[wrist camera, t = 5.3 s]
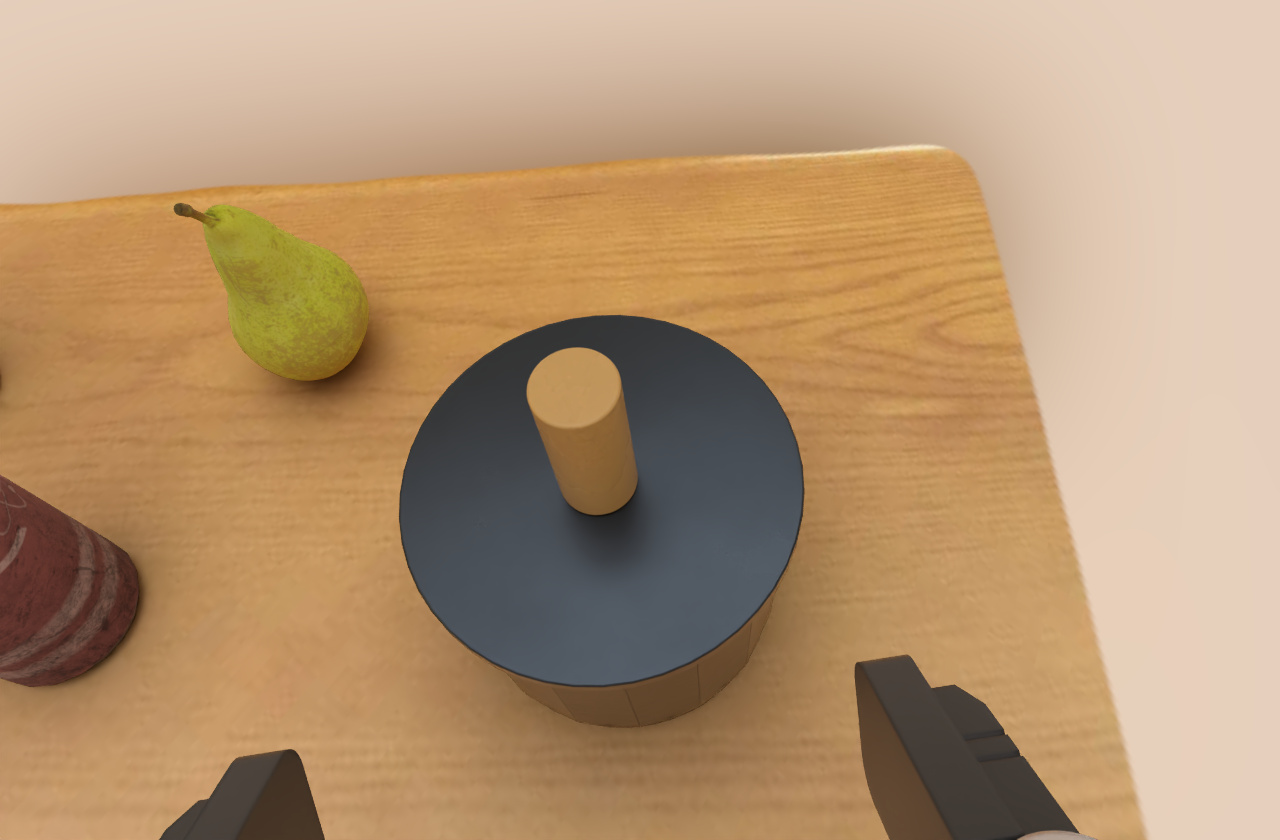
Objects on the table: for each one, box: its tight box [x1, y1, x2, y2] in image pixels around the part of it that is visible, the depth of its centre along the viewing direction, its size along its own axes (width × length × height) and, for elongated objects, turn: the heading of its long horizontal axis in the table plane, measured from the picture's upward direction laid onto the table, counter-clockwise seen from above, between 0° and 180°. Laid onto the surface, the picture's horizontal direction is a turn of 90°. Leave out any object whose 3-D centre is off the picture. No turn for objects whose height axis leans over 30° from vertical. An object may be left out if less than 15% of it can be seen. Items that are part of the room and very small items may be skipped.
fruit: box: [174, 203, 369, 381], centre depth 36 cm, size 6×6×12 cm
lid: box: [399, 315, 804, 691], centre depth 25 cm, size 12×12×7 cm
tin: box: [507, 595, 774, 727], centre depth 31 cm, size 11×11×8 cm
